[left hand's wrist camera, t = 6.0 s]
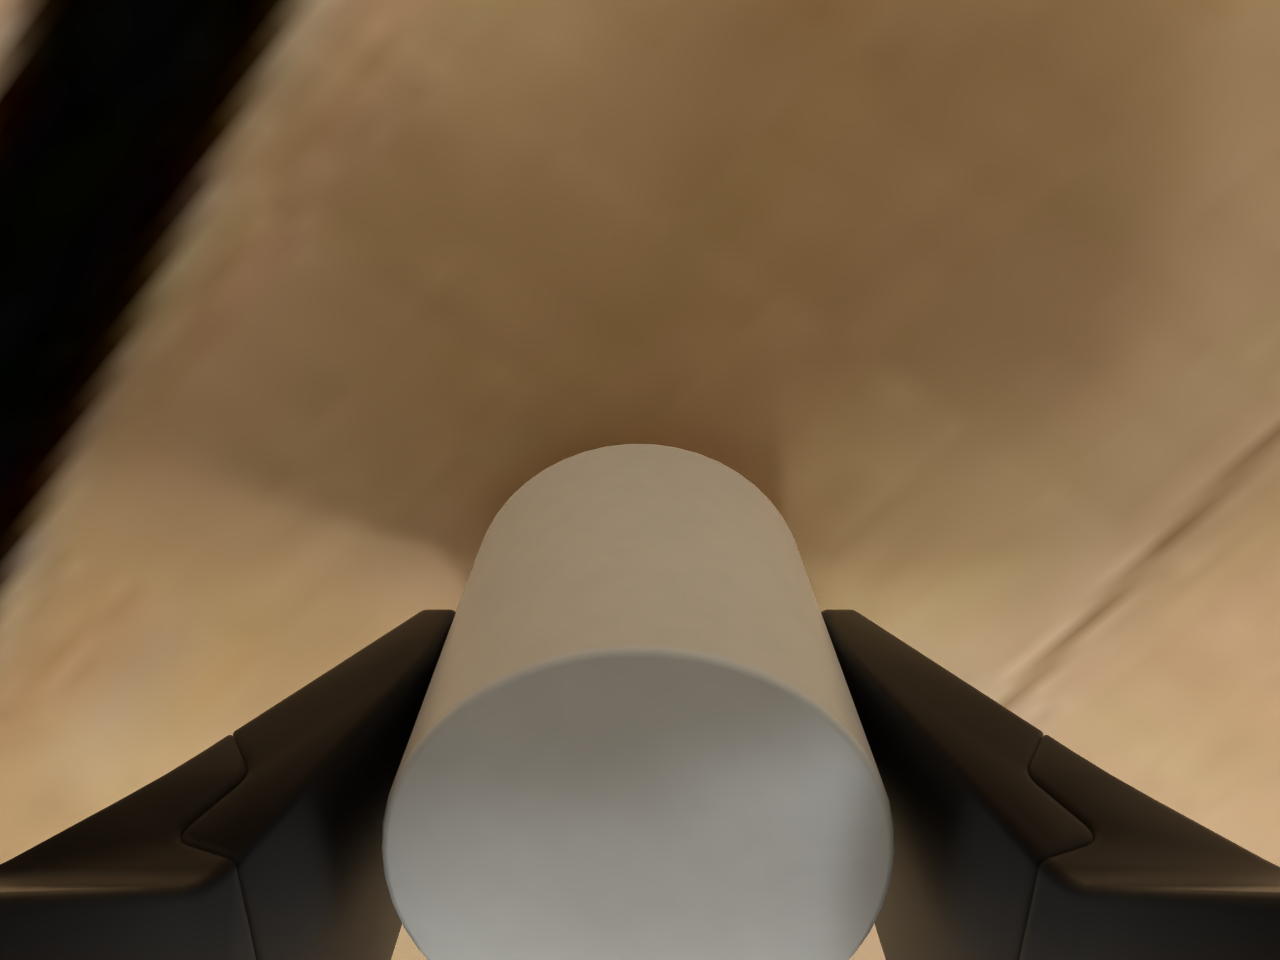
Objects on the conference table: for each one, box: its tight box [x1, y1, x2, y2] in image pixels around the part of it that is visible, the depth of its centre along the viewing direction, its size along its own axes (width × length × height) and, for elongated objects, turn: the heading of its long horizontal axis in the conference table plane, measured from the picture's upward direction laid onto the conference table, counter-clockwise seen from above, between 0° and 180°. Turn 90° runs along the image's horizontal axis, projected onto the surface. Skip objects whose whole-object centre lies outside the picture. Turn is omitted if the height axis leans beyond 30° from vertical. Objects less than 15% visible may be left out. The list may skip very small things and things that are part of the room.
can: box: [381, 444, 895, 960], centre depth 10 cm, size 4×4×5 cm
